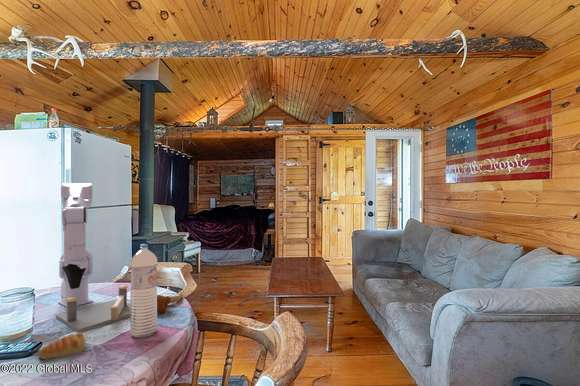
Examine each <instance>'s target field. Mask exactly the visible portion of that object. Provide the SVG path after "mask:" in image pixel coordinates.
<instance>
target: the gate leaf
mask: <svg viewBox="0 0 580 386" xmlns="http://www.w3.org/2000/svg"><path fill="white" fill-rule="evenodd" d="M116 299H117V298H116ZM123 307H124V295H120V296H119V295H118V299H117V301H116V302H115V304H114V306H112V307H111V320H116V319H118V318H119V314H120V312H121V310H122V308H123Z"/></svg>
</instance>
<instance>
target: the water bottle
mask: <svg viewBox="0 0 580 386" xmlns="http://www.w3.org/2000/svg"><path fill="white" fill-rule="evenodd" d="M148 247H149V245H148V244H147V243H142V244H140V249H139V250H138V251H137V252H135V254H134V255H133V256H132V258H130V295H129V296H130V302H129V303H130V304H131V306H130V307H131V309H130V311H131V312H130V314H131V316H130V317H129V318H130V319H129V321H130V336H131V337H132V338H136V339H144V338H148V337H151V336H153V335H154V334H156V332H157V328H158V313H157V295H158V285H157V284H158V282H157V281H158V280H157V279H158V276H157V275H158V271H157V270H158V269H157V268H158V267H157V266H158V258H157V256H156V255H155V253H154V252H152V251H151V250H149V249H148Z"/></svg>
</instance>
